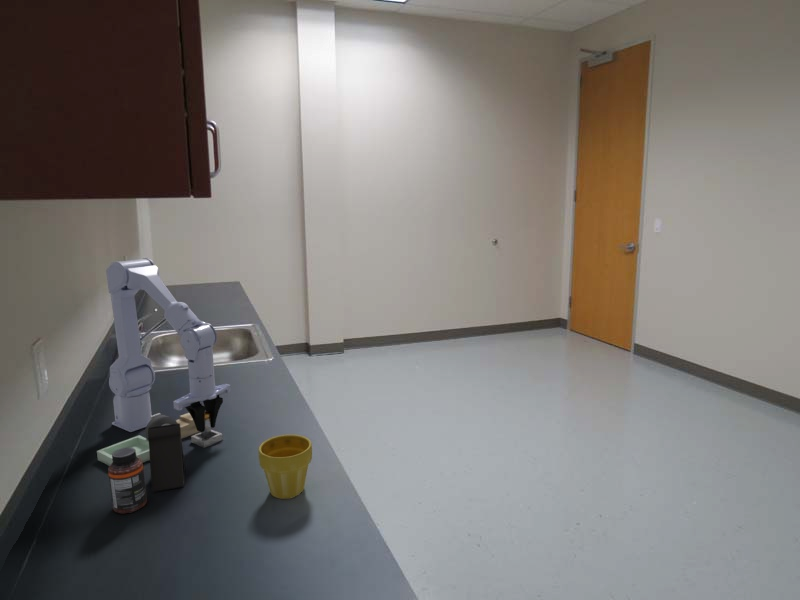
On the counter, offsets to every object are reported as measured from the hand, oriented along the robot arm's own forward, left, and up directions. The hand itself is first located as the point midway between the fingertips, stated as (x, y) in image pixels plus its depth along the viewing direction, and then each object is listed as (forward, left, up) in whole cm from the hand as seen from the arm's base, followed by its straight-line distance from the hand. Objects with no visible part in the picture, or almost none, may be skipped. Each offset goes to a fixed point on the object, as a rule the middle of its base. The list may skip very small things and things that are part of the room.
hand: (206, 428), depth 131 cm
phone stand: (+10, -16, -4) cm, 19 cm away
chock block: (-9, 0, -4) cm, 10 cm away
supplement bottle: (+13, -26, -4) cm, 29 cm away
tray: (-7, -15, -3) cm, 17 cm away
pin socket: (0, 0, -3) cm, 3 cm away
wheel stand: (-7, -7, -3) cm, 11 cm away
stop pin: (0, 0, -2) cm, 2 cm away
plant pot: (+34, -5, -4) cm, 34 cm away
